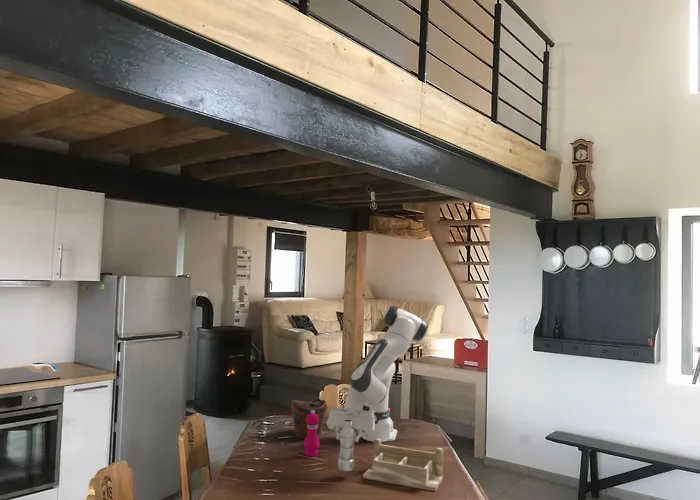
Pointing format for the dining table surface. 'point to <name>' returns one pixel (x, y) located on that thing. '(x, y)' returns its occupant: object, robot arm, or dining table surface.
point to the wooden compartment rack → (406, 466)
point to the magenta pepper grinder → (312, 435)
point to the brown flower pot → (303, 409)
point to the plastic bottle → (346, 446)
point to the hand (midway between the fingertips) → (347, 440)
